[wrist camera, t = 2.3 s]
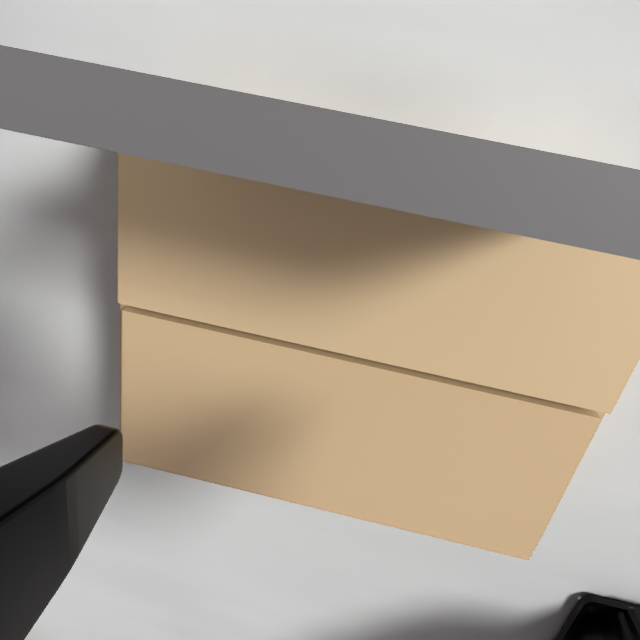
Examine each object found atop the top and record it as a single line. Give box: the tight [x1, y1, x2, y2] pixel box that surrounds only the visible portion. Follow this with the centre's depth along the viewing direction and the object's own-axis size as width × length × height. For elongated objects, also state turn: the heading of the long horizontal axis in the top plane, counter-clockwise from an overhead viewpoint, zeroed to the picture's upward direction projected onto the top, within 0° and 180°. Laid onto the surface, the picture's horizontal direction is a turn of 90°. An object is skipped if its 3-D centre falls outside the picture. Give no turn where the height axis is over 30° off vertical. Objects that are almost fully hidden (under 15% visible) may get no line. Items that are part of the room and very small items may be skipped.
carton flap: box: [0, 45, 640, 414], centre depth 10 cm, size 7×17×10 cm, turn 80°
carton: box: [120, 304, 605, 560], centre depth 19 cm, size 14×18×5 cm
